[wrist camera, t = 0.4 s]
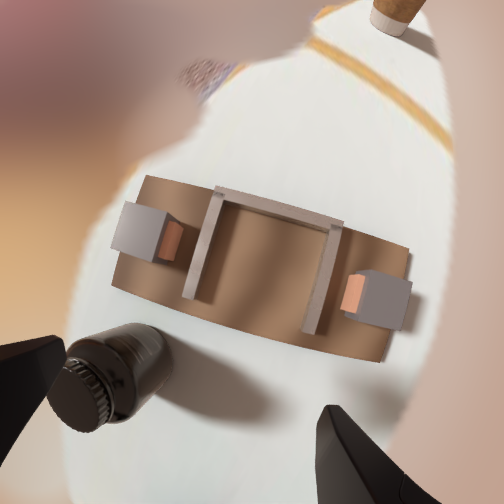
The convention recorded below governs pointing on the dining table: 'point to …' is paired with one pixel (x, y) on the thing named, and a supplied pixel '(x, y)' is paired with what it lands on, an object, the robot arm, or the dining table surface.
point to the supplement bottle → (110, 376)
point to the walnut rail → (262, 268)
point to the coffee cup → (394, 15)
